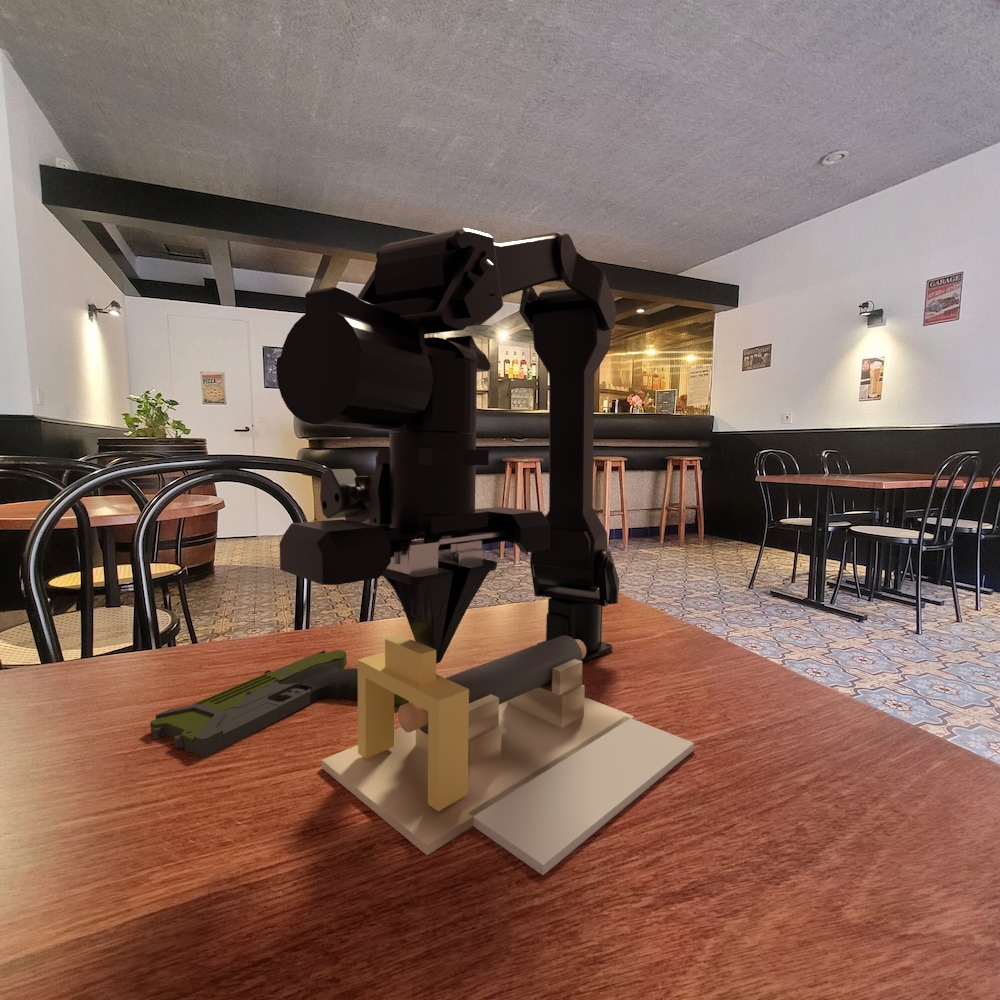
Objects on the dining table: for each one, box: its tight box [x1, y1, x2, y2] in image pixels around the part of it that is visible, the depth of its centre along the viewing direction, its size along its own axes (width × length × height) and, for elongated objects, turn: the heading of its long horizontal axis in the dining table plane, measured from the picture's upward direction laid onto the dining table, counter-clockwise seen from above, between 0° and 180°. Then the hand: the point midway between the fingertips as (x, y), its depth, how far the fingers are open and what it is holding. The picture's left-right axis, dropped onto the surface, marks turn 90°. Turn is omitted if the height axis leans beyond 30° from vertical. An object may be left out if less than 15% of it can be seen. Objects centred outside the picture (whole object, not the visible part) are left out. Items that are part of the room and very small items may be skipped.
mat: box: [470, 718, 695, 876], centre depth 38 cm, size 18×6×1 cm, turn 136°
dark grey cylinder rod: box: [397, 635, 586, 734], centre depth 44 cm, size 19×3×3 cm, turn 136°
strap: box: [357, 634, 469, 811], centre depth 37 cm, size 2×9×9 cm, turn 46°
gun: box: [150, 649, 410, 758], centre depth 48 cm, size 2×19×15 cm
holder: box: [321, 645, 635, 856], centre depth 43 cm, size 22×12×5 cm, turn 136°
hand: (431, 662), depth 38 cm, fingers closed
